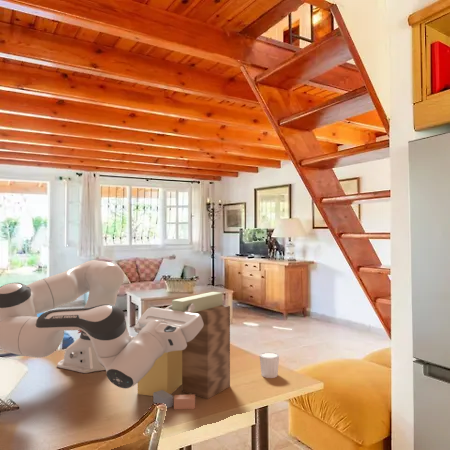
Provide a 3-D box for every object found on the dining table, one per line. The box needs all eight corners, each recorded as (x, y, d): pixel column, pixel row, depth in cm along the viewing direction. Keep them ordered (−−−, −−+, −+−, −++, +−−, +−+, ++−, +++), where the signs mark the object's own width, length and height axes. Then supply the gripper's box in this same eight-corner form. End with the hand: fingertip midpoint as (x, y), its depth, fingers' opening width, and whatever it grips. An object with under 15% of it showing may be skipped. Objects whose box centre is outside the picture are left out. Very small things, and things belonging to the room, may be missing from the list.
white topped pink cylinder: (255, 375, 142) (255, 355, 142) (267, 370, 147) (267, 350, 147) (271, 380, 137) (271, 359, 137) (283, 374, 142) (283, 354, 142)
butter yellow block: (137, 394, 126) (137, 342, 126) (155, 380, 137) (155, 332, 137) (167, 397, 123) (167, 344, 123) (182, 383, 134) (182, 334, 134)
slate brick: (153, 402, 120) (153, 392, 120) (162, 399, 122) (162, 389, 122) (164, 409, 115) (164, 399, 115) (173, 406, 117) (173, 396, 117)
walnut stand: (207, 399, 122) (207, 312, 122) (182, 391, 128) (182, 308, 128) (229, 386, 132) (229, 305, 132) (205, 379, 138) (205, 302, 138)
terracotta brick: (173, 409, 115) (173, 399, 115) (174, 405, 118) (174, 394, 118) (195, 409, 116) (195, 398, 116) (195, 404, 119) (195, 394, 119)
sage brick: (182, 315, 117) (182, 301, 118) (172, 313, 120) (172, 300, 120) (222, 304, 134) (222, 292, 134) (212, 303, 136) (212, 291, 136)
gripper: (135, 339, 119) (163, 308, 129) (189, 351, 107) (215, 316, 117) (126, 322, 116) (156, 292, 126) (181, 332, 105) (209, 299, 115)
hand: (185, 304), depth 122 cm, fingers closed on sage brick, 4 cm apart
